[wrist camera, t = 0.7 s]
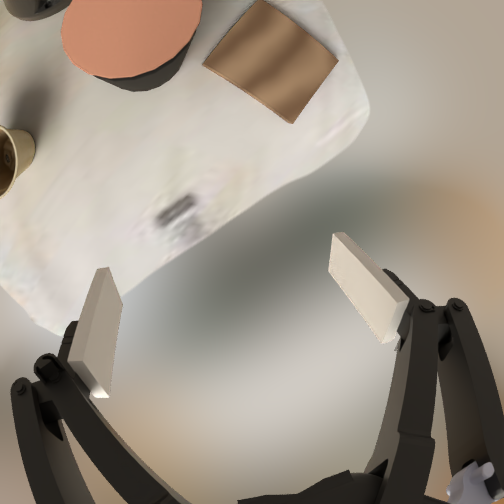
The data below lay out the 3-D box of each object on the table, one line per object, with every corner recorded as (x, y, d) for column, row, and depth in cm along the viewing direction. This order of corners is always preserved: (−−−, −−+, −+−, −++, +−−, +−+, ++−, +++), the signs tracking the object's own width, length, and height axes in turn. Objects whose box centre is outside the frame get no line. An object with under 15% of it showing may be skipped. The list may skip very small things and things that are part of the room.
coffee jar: (134, 10, 24) (117, -53, 9) (200, 40, 29) (231, -9, 14) (90, 75, 26) (35, 55, 12) (156, 105, 32) (149, 101, 17)
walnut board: (201, 65, 31) (203, 63, 29) (256, 1, 27) (259, -3, 26) (288, 123, 38) (292, 123, 37) (333, 61, 34) (338, 60, 33)
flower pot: (-13, 155, 25) (-44, 170, 18) (20, 105, 24) (-11, 108, 17) (21, 194, 30) (-6, 216, 23) (56, 146, 29) (30, 158, 22)
